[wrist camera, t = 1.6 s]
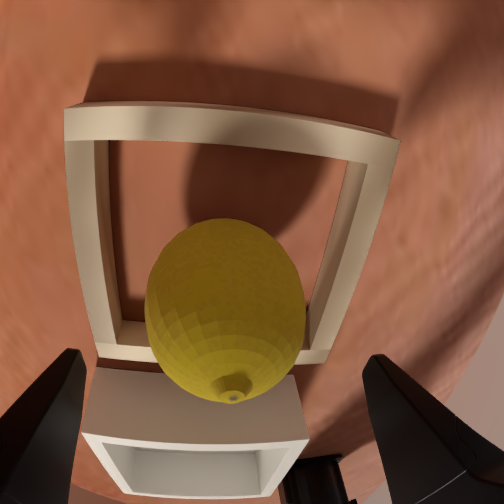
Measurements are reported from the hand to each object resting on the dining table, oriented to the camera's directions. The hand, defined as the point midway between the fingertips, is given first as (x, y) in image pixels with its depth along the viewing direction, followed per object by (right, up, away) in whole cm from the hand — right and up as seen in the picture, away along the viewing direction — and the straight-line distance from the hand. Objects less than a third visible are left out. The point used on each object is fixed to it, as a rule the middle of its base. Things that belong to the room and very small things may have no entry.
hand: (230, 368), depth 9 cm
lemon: (-1, +4, +6) cm, 7 cm away
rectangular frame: (-1, +4, +6) cm, 7 cm away
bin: (-4, -10, +14) cm, 17 cm away
